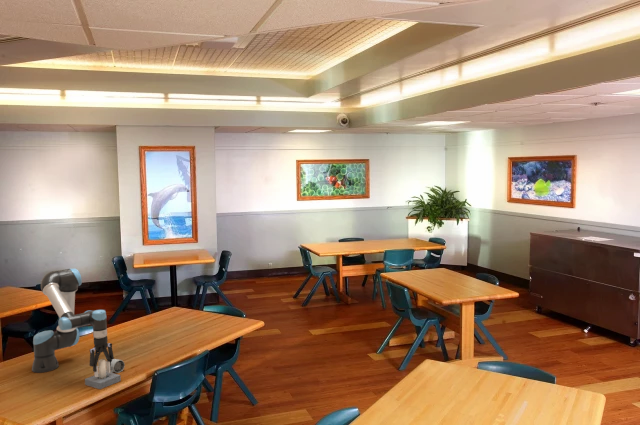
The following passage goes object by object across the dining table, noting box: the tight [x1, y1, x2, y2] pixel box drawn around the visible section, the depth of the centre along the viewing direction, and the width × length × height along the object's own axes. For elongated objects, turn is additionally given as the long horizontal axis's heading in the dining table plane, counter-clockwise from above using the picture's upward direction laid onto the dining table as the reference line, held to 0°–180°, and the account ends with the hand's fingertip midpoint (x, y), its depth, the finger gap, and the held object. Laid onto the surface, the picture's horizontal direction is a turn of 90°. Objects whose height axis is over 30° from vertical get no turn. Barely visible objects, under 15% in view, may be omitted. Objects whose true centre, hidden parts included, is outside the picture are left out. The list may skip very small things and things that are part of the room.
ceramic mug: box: [110, 358, 126, 374], centre depth 328 cm, size 11×8×8 cm
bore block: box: [84, 371, 122, 390], centre depth 311 cm, size 14×14×4 cm
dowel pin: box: [97, 358, 107, 380], centre depth 310 cm, size 4×4×12 cm
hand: (102, 374), depth 310 cm, fingers open, 7 cm apart
